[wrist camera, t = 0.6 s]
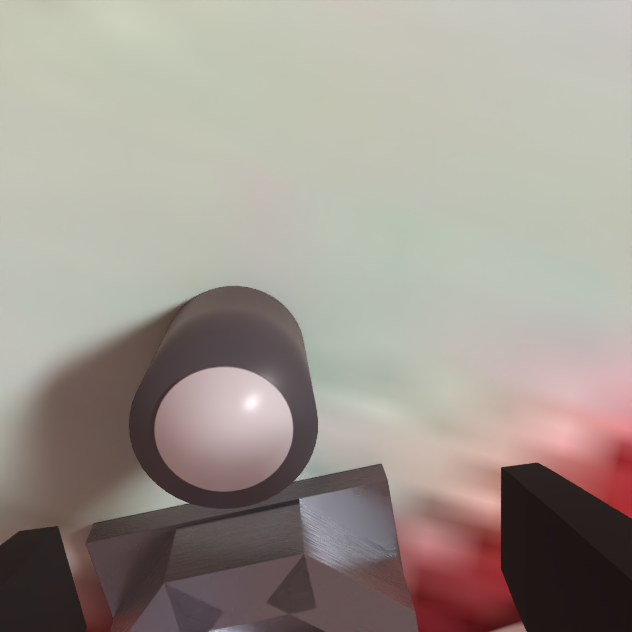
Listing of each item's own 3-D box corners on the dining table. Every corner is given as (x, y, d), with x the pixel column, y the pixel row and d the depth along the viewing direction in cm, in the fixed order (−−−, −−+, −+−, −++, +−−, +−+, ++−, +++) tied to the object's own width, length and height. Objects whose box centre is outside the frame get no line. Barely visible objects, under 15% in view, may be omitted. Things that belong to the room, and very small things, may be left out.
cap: (184, 427, 19) (155, 529, 14) (148, 301, 18) (103, 364, 13) (315, 401, 19) (333, 492, 14) (289, 273, 18) (299, 325, 13)
